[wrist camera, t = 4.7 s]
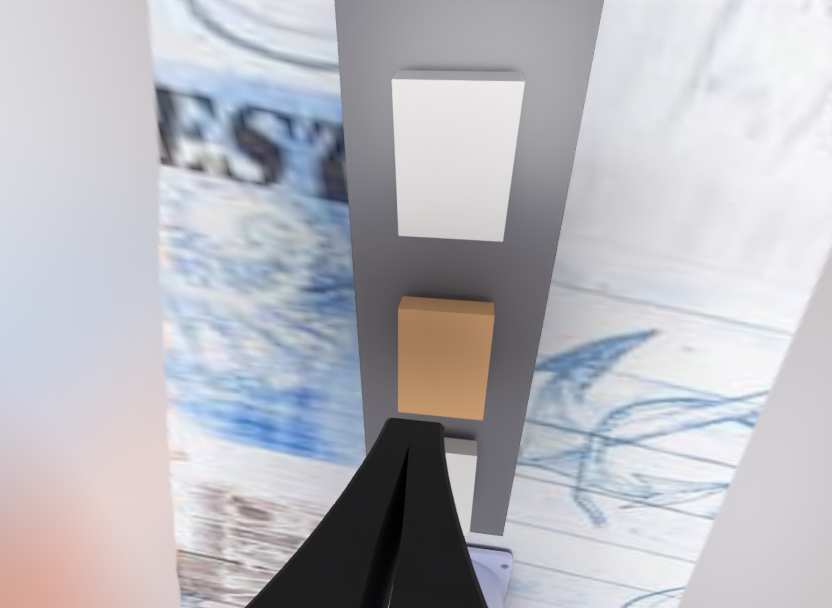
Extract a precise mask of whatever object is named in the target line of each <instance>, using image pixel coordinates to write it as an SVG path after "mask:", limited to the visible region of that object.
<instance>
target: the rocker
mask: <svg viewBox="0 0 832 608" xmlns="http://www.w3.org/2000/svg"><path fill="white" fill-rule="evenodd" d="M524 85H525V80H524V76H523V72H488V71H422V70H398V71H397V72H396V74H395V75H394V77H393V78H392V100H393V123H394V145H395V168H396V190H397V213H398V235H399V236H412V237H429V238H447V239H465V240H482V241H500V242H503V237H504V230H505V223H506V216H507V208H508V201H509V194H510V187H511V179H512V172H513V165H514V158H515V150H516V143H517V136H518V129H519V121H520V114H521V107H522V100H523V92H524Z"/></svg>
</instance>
